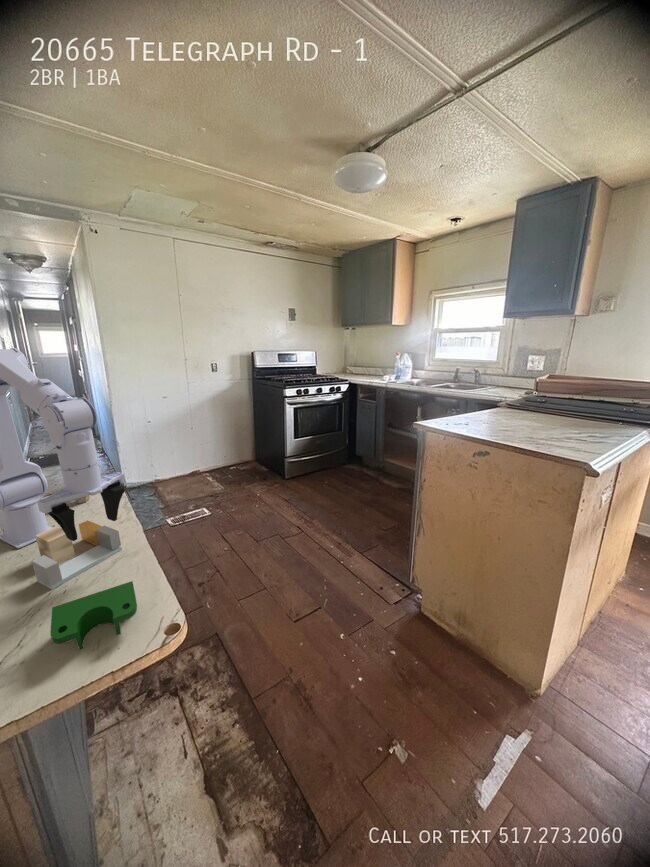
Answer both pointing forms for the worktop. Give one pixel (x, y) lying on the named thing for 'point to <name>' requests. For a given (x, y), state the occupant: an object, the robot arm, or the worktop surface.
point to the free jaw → (99, 535)
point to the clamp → (92, 613)
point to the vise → (68, 566)
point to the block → (55, 545)
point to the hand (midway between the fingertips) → (93, 528)
